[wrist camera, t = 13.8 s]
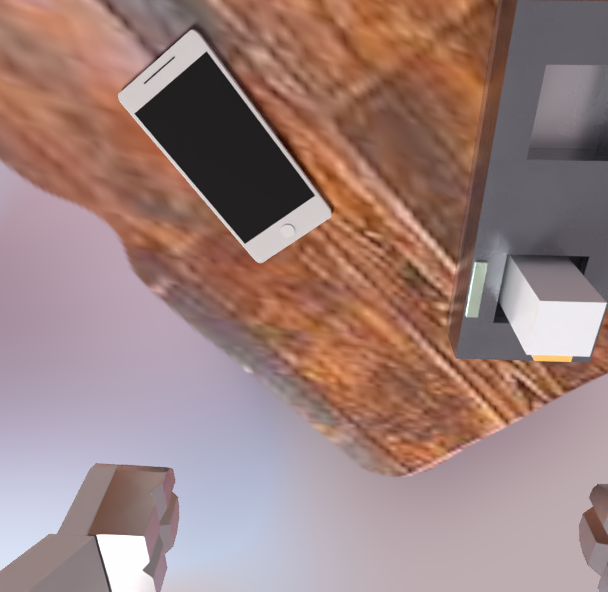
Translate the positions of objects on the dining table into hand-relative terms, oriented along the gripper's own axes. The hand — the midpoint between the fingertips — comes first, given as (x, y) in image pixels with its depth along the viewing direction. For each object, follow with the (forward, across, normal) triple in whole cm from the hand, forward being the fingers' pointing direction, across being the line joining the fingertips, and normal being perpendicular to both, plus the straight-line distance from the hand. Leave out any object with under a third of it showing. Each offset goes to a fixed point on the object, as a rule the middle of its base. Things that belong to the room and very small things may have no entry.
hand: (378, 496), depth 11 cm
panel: (+31, -14, +4) cm, 34 cm away
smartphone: (+32, +8, +2) cm, 33 cm away
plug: (+30, -14, +10) cm, 35 cm away
